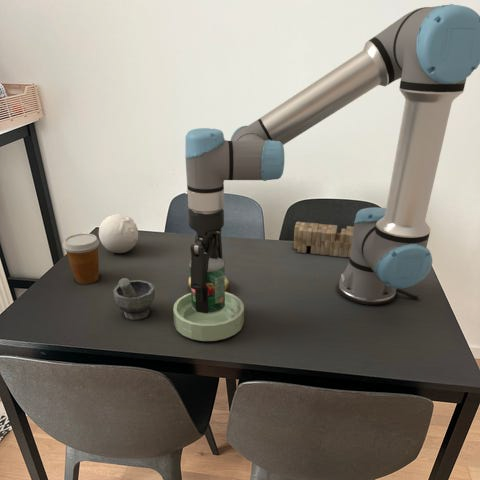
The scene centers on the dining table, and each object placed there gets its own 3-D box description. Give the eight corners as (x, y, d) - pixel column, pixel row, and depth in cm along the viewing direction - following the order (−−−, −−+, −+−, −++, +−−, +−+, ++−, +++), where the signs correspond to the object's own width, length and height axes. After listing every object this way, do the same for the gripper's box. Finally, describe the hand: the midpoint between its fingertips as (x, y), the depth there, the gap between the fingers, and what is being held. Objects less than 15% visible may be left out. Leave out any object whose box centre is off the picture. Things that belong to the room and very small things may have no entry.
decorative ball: (130, 261, 143) (125, 224, 136) (94, 257, 145) (88, 220, 139) (146, 246, 153) (142, 210, 146) (112, 242, 155) (107, 207, 149)
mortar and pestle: (125, 302, 121) (120, 260, 115) (160, 305, 120) (156, 262, 114) (109, 325, 112) (102, 280, 106) (146, 328, 111) (141, 283, 105)
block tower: (292, 254, 150) (385, 261, 144) (293, 229, 146) (389, 236, 140) (295, 245, 157) (385, 251, 151) (296, 221, 152) (389, 226, 146)
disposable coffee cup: (63, 284, 130) (54, 244, 123) (81, 269, 137) (74, 231, 131) (94, 288, 128) (87, 247, 121) (110, 273, 136) (104, 234, 129)
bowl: (250, 312, 118) (251, 295, 115) (232, 349, 104) (232, 330, 101) (189, 303, 121) (188, 286, 119) (163, 337, 108) (162, 319, 105)
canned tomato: (227, 298, 113) (227, 256, 107) (222, 315, 106) (222, 271, 100) (194, 296, 114) (193, 254, 108) (188, 312, 107) (186, 269, 101)
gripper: (205, 192, 107) (207, 281, 119) (170, 223, 90) (176, 322, 102) (236, 196, 105) (235, 285, 117) (206, 227, 88) (209, 328, 100)
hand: (208, 302), depth 110 cm, fingers closed on canned tomato, 8 cm apart
